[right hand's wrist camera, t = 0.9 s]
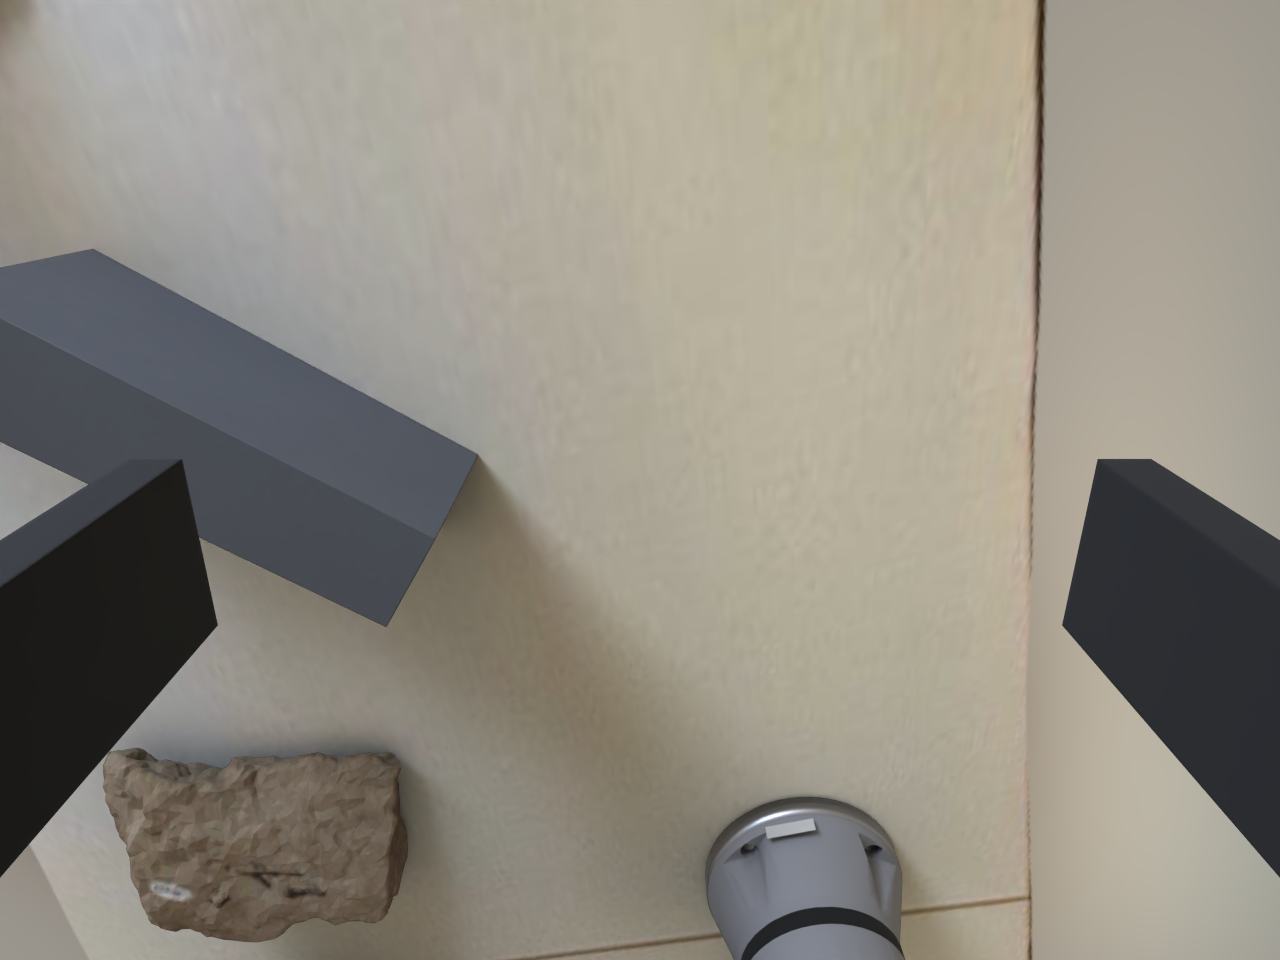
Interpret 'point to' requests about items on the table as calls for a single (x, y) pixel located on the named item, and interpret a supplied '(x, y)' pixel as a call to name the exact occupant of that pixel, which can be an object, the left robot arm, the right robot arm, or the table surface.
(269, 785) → the stone
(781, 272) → the table surface
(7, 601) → the right robot arm
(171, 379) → the box
